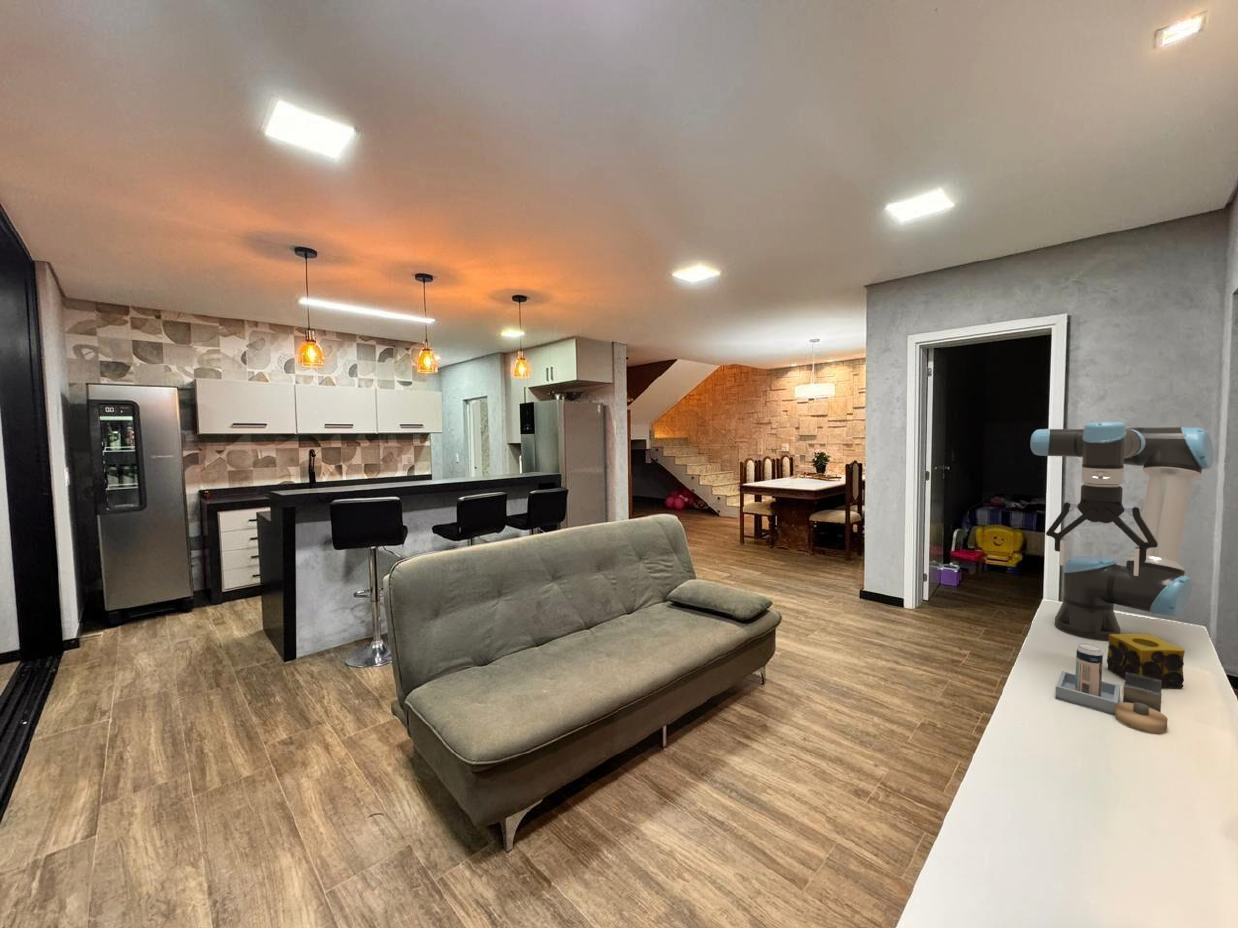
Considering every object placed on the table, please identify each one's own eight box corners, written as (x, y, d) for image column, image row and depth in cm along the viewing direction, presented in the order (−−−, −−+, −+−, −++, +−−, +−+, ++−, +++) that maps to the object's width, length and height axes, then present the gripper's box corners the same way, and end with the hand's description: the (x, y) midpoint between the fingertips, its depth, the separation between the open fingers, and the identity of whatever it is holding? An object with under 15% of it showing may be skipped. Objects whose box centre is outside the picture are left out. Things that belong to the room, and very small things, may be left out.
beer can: (1107, 701, 121) (1109, 651, 120) (1084, 700, 121) (1086, 650, 120) (1091, 690, 125) (1093, 642, 124) (1069, 689, 126) (1071, 642, 125)
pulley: (1116, 708, 119) (1116, 691, 118) (1166, 722, 113) (1167, 704, 113) (1113, 723, 113) (1114, 705, 113) (1167, 738, 107) (1168, 720, 107)
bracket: (1124, 691, 126) (1125, 671, 125) (1160, 700, 121) (1161, 680, 121) (1122, 706, 119) (1123, 686, 119) (1160, 717, 115) (1161, 695, 114)
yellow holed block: (1147, 669, 136) (1149, 633, 135) (1185, 689, 126) (1187, 650, 125) (1105, 669, 137) (1106, 632, 136) (1139, 688, 127) (1141, 649, 126)
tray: (1061, 682, 131) (1061, 670, 131) (1119, 697, 123) (1120, 685, 123) (1055, 698, 124) (1055, 686, 123) (1116, 715, 116) (1117, 702, 116)
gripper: (1034, 483, 134) (1031, 563, 136) (1176, 490, 116) (1170, 582, 118) (1039, 480, 139) (1036, 557, 141) (1175, 486, 121) (1170, 575, 123)
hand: (1097, 569), depth 129 cm, fingers open, 13 cm apart
